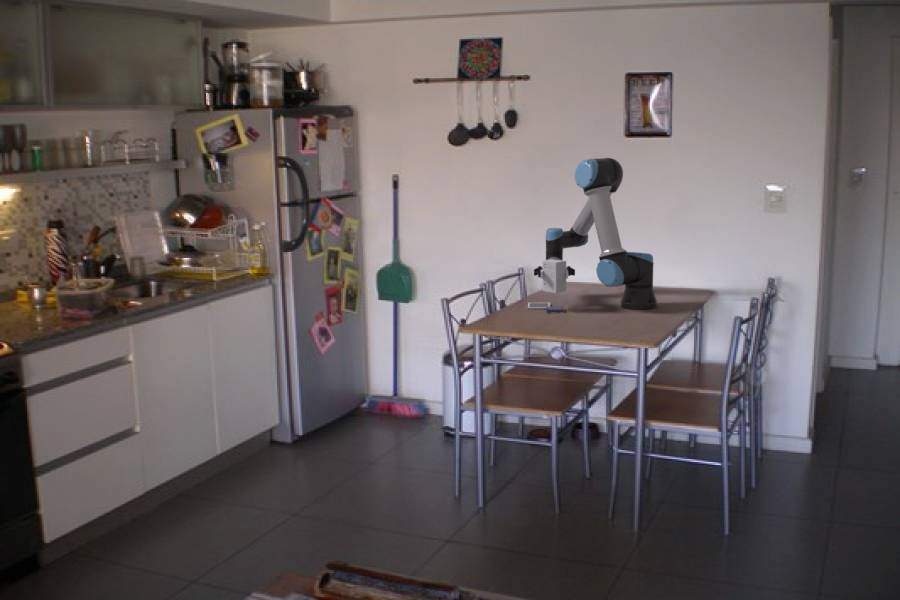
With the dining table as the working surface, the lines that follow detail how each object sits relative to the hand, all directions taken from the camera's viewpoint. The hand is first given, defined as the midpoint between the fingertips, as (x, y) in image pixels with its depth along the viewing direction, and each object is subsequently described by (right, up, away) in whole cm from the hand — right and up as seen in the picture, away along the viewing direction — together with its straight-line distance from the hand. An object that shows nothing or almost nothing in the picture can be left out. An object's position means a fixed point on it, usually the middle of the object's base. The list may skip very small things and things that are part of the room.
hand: (554, 275), depth 402 cm
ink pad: (+1, -15, +7) cm, 16 cm away
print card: (-5, -13, +17) cm, 22 cm away
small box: (+1, -7, +6) cm, 9 cm away
